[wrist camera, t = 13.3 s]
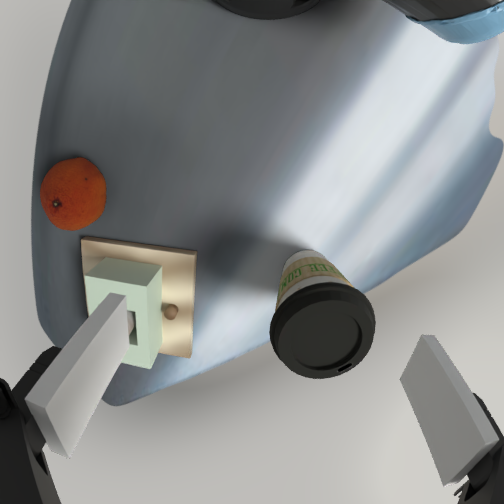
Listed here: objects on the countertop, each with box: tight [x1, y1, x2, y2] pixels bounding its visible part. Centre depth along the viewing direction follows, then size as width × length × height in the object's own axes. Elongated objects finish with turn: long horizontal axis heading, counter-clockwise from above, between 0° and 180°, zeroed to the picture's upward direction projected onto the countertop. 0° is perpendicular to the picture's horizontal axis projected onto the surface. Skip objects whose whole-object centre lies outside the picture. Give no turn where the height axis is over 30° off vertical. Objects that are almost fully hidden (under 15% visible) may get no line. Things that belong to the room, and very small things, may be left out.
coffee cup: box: [269, 250, 376, 379], centre depth 33 cm, size 10×10×15 cm
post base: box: [81, 236, 197, 358], centre depth 38 cm, size 16×16×10 cm
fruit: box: [40, 157, 106, 231], centre depth 33 cm, size 9×9×8 cm
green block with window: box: [84, 257, 163, 369], centre depth 38 cm, size 12×8×6 cm, turn 173°
